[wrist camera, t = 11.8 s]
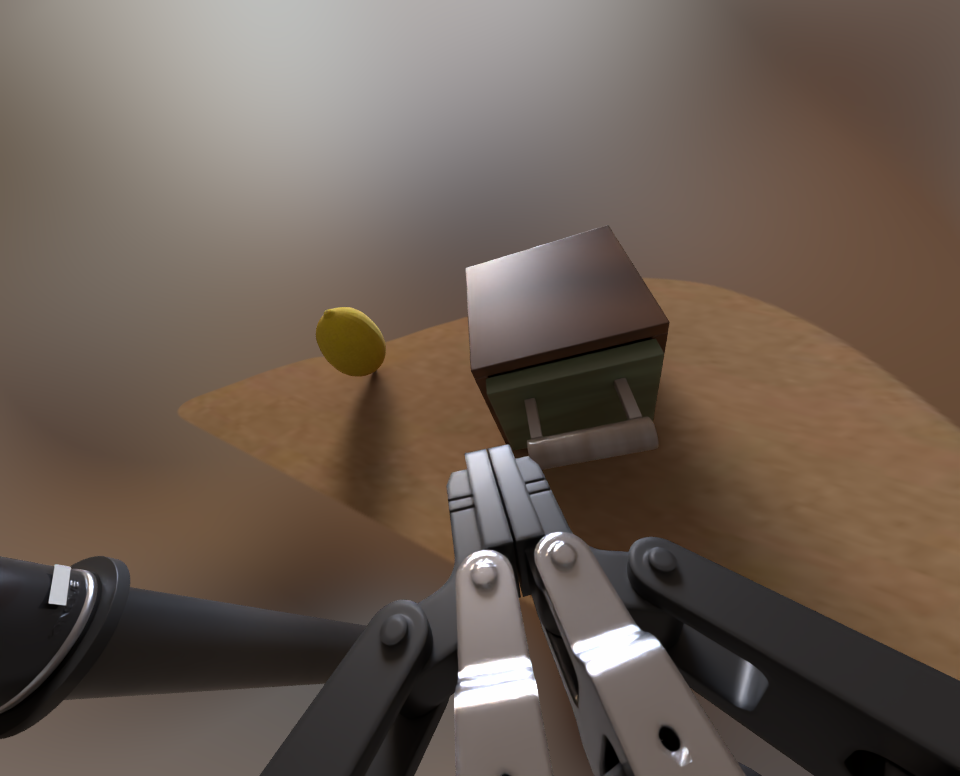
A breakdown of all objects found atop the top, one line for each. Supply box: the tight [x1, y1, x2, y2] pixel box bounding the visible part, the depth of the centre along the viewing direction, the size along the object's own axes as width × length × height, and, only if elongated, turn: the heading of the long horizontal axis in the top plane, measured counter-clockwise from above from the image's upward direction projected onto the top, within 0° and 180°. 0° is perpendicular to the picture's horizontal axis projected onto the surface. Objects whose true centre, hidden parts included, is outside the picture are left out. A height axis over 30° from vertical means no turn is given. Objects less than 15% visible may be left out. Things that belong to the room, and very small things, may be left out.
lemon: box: [316, 307, 386, 376], centre depth 33 cm, size 6×6×8 cm
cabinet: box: [466, 225, 669, 444], centre depth 25 cm, size 11×11×9 cm
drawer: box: [486, 339, 664, 470], centre depth 23 cm, size 14×9×7 cm
